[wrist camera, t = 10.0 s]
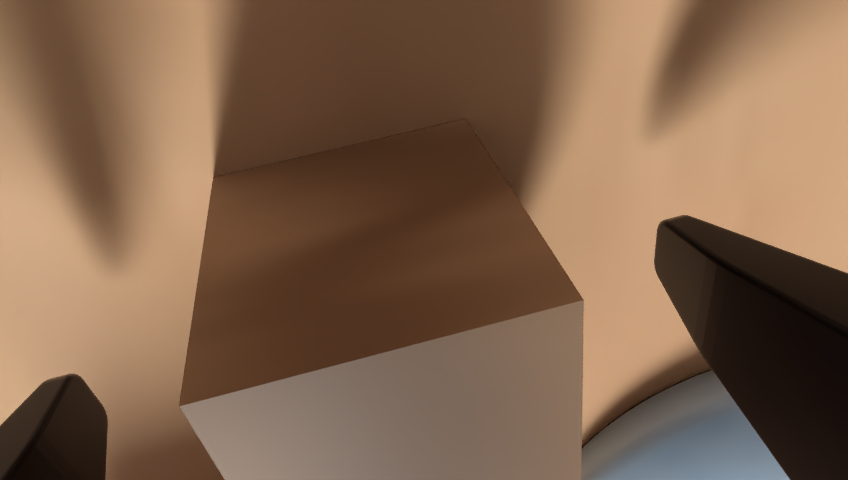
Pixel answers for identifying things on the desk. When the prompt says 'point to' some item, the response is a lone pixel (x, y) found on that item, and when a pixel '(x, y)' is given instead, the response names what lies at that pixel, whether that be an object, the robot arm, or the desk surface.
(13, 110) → the desk surface
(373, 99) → the desk surface
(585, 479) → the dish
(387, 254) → the block
